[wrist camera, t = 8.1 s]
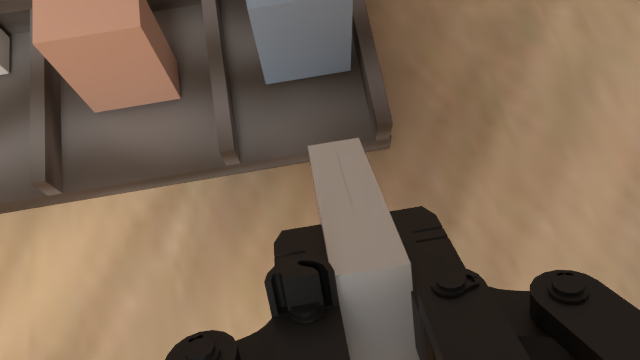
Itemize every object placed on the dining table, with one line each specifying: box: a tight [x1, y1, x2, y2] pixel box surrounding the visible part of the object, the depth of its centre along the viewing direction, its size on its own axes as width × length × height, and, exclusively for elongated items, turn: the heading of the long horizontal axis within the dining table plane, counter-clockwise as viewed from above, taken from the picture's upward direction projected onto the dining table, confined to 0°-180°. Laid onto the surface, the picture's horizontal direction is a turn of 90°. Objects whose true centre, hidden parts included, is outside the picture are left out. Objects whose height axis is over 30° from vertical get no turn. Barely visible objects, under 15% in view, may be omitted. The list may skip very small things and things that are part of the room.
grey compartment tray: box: [0, 0, 393, 214], centre depth 34 cm, size 12×28×4 cm, turn 100°
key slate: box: [246, 0, 353, 84], centre depth 31 cm, size 2×5×7 cm, turn 100°
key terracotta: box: [32, 0, 181, 113], centre depth 31 cm, size 2×5×7 cm, turn 100°
